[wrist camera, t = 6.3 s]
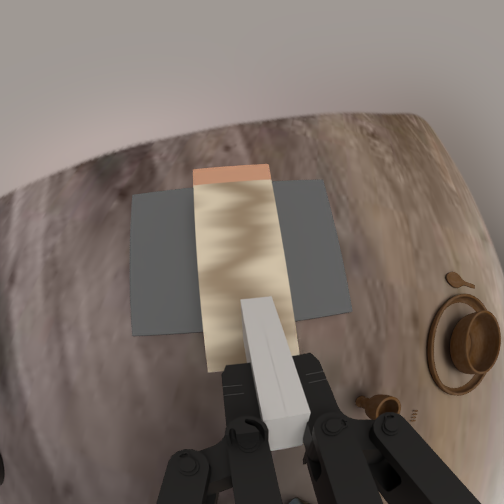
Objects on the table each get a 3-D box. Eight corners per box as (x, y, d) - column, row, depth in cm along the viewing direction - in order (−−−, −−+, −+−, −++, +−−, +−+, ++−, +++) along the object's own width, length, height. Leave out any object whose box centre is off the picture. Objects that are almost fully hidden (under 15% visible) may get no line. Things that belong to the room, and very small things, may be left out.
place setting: (472, 416, 23) (504, 420, 17) (340, 418, 23) (367, 433, 17) (487, 286, 28) (517, 274, 23) (371, 249, 28) (398, 227, 23)
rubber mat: (134, 336, 23) (132, 335, 23) (134, 197, 28) (132, 194, 27) (349, 312, 26) (352, 311, 25) (321, 182, 30) (322, 179, 29)
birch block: (208, 372, 17) (193, 169, 22) (213, 366, 23) (199, 204, 27) (300, 360, 18) (268, 163, 22) (283, 357, 23) (260, 199, 28)
